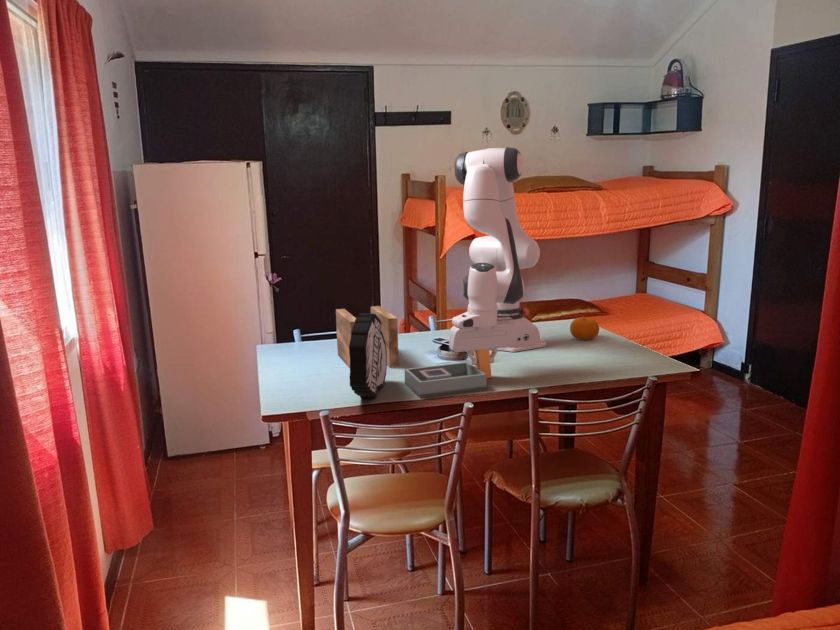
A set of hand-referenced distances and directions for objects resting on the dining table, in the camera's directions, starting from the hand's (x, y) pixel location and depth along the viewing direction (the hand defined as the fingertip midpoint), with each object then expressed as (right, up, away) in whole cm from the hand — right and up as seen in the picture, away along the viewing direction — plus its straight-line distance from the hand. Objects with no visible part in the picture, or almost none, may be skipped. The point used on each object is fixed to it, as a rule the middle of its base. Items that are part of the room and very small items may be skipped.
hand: (482, 363), depth 201 cm
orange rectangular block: (0, -4, +1) cm, 4 cm away
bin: (-11, -6, -7) cm, 15 cm away
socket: (-14, -6, -8) cm, 18 cm away
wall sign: (-33, -8, -13) cm, 36 cm away
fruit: (+42, +5, +46) cm, 63 cm away
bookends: (-36, -1, +22) cm, 43 cm away
